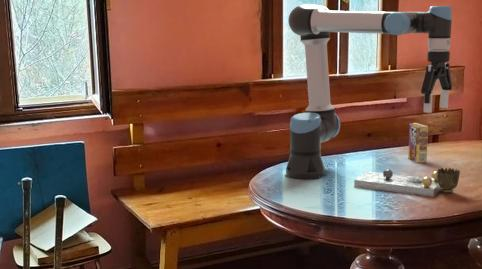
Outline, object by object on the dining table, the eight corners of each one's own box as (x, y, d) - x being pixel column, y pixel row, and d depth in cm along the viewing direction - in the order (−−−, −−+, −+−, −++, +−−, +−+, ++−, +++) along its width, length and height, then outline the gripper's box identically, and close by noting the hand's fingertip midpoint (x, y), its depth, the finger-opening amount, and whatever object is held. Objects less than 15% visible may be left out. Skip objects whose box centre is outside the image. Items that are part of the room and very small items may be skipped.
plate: (354, 186, 224) (354, 179, 224) (367, 177, 236) (367, 171, 235) (433, 196, 210) (433, 189, 209) (443, 186, 221) (443, 179, 221)
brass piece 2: (430, 181, 219) (430, 171, 219) (432, 179, 222) (433, 169, 222) (440, 182, 218) (440, 173, 217) (442, 180, 221) (442, 170, 220)
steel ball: (381, 179, 224) (381, 169, 223) (384, 176, 227) (384, 167, 226) (390, 180, 222) (391, 170, 221) (393, 178, 225) (394, 168, 224)
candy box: (427, 162, 258) (428, 126, 255) (418, 163, 257) (419, 126, 254) (417, 157, 266) (418, 122, 264) (407, 158, 266) (408, 123, 263)
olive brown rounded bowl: (455, 197, 209) (456, 173, 207) (433, 194, 213) (434, 171, 211) (461, 191, 215) (462, 169, 214) (439, 188, 219) (440, 166, 217)
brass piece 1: (420, 187, 212) (420, 177, 212) (422, 184, 215) (423, 175, 214) (430, 188, 210) (430, 178, 210) (432, 186, 213) (433, 176, 213)
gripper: (433, 52, 208) (430, 115, 212) (463, 49, 226) (460, 106, 231) (412, 52, 213) (410, 113, 217) (443, 48, 231) (440, 105, 235)
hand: (435, 110), depth 224 cm, fingers open, 13 cm apart
